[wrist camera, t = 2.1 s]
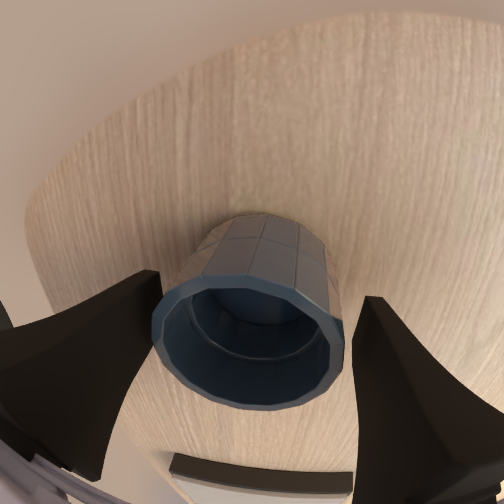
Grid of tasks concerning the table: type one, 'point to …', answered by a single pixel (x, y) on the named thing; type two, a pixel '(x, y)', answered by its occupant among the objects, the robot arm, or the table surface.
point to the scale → (256, 484)
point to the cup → (254, 316)
